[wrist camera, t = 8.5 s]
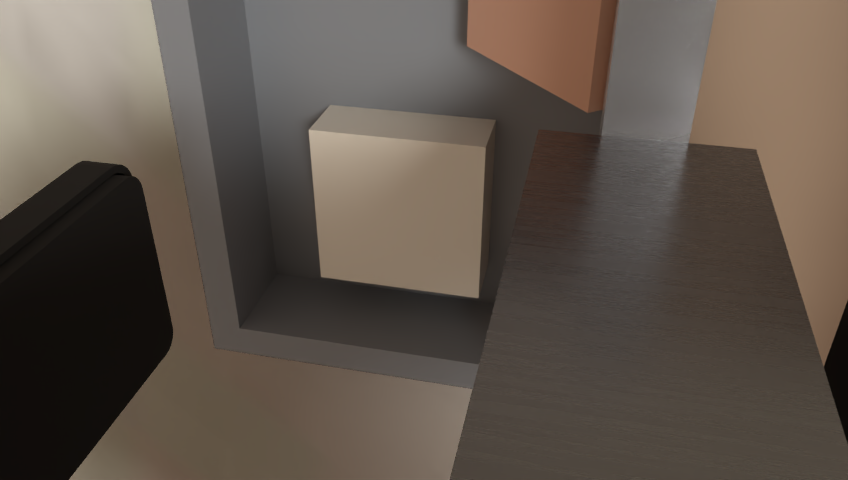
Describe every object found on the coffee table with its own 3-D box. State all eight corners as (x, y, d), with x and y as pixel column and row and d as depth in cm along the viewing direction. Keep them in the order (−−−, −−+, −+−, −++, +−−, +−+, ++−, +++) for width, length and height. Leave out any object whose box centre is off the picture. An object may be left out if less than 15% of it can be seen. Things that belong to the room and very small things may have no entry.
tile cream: (308, 129, 17) (330, 104, 19) (321, 277, 20) (339, 245, 21) (485, 147, 17) (495, 119, 18) (478, 298, 19) (488, 264, 20)
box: (712, -306, 13) (730, -320, 11) (609, 331, 21) (606, 409, 18) (181, -299, 15) (94, -309, 13) (260, 283, 23) (214, 348, 20)
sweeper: (812, -235, 10) (1678, -176, 2) (662, 425, 17) (692, 1126, 8) (580, -235, 11) (387, -194, 2) (521, 404, 17) (413, 1034, 9)
